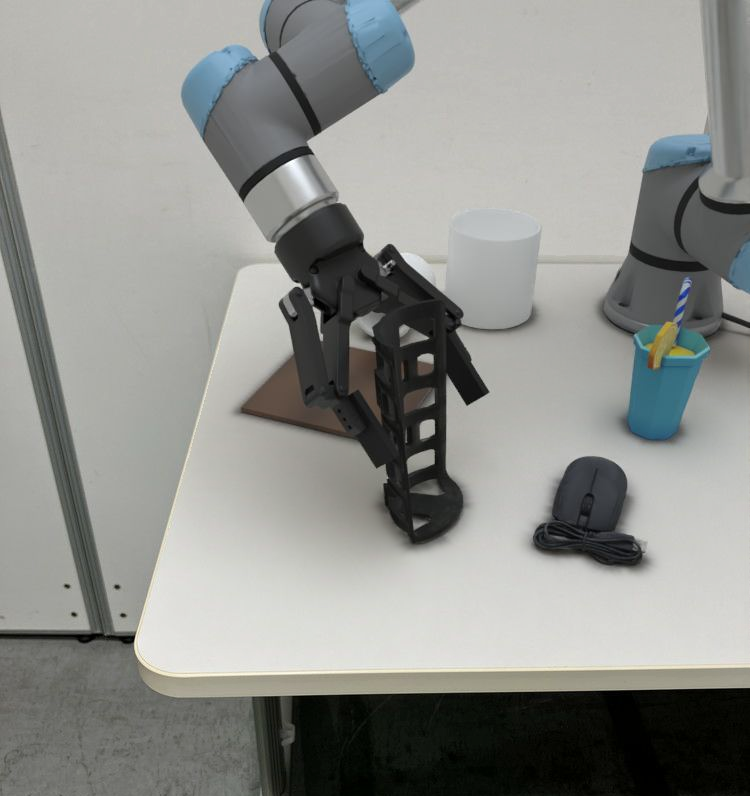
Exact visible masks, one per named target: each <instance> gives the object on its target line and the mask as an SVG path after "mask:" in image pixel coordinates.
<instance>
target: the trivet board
mask: <svg viewBox="0 0 750 796" xmlns="http://www.w3.org/2000/svg"><path fill="white" fill-rule="evenodd" d="M320 341H321V346H322V351H323V340H320ZM376 368H377V364H376V351H372V350H368V349H362V348H358V347H352V346H349V393H348V395H350V394H351V393H353V392H354V391H356V390H358V389H359V391H360V392H361V394H362V396H363V397H364V399H365V400H366V402H367V403H368V405H369V407H370V408H371V410H372V411H373V413H374V415H375V416H376V418H377V419H378V421H379V422H380V424H381V426H382V419H381V410H380V408H379V406H378V405H377V400H376V389H375V378H374V369H376ZM433 369H434V363H430V362H425V361H420V360H418V375H419V376H420V375H425V374H429V373H431V372H432V371H433ZM401 374H402V380H403V379H404V365H403V362H402V364H401ZM432 389H433V388H431V387H429V388H424V389H419V390H415V391H413V392H410V393H407V394H406V395H405V397H404V414H405V413H408V412H410V411H413V410H416V409H419V408H420V407H421V405H422V403H423V402H424V401H425V399H426V398H427V396H428V395H429V393H430V392H431V391H432ZM240 412H241V413H245V414H248V415H249V414H250V415H253V416H258V417H261V418H262V417H263V418H266V419H270V420H275V421H280V422H283V423H287V424H292V425H295V426H296V425H297V426H300V427H304V428H309V429H313V430H317V431H321V432H326V433H329V434H334V435H338V436H342V437H345V438H346V437H347V438H351V439H355V440H358V439H357V438H356V436H354V437H351V436H350V435H348V434H347V432H346V431H345V429H344V427H343V426H342V424H341V423H340V421H339V420H338V418H337V416H336V415H335V413H334V412H333V410H332V409H331V408H330V407H329V408H328V409H321V408H320V407H319V406H315V407H313V408H308V407H307V406H305V404H304V402H303V398H302V392H301V387H300V382H299V377H298V372H297V367H296V361H295V356H294V354H292V355H291V356H290V357H289V358H288V359H287V360H286V361H285V362H284V363H283V365H281V366H280V367H279V368H278V369H277V371H275V373H273V374H272V375H271V376H270V377H269V378H268V379H267V380H266V381H265V382H264V383H263V384H262V385H261V386H260V387H259V388H258V389H257V391H255V392H254V393H253V394H252V395H251V396H250V397H249V398H248V399H247V400H246V401H245V403H243V405H242V406H241V407H240Z"/></svg>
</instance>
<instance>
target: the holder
mask: <svg viewBox="0 0 750 796" xmlns="http://www.w3.org/2000/svg"><path fill="white" fill-rule="evenodd" d="M425 318H426V319H431V320H432V321H433V335H432V337H431V338H427V339H423V340H418V341H414V342H410V343H407V344H404V345H401V337H400V334H399V327H401V326H402V325H403V324H405V323H407V322H411V321H415V320H418V319H425ZM372 329H373V333H374V337H372V336H371V337H370V339H371V342H372V344H373V345H374V350H375V351H374V352H376V364H377V368H376V369H374V378H375V389H376V400H377V405H378V406H379V408H380V410H381V419H382V427H383V429H384V430H385V432H386V434H387V435H388V437H389V438H390V440H391V441H392V443H393V445H394V446H395V448H396V449H397V451H398V453H399V454H400V455H399V456H398V457H397V458H395V459H393V460H392V461H390V462H388V463H386V464H384V465H385V466H384V467H385V474H386V476H387V478H386V482H383V483H382V487H383V501H384V507H386V508H387V510H388V512H389V515H390V518H391V520H392V522H393V523H394V524H395V525H396V526H397V527H398V528H399V529H400V530H401V531H403V532H404V533H405V534H406V536H407V537H408V538H409V540H410V542H411V543H412V544H413V545H415V544H416V545H417V544H424V543H426V542H428V541H431V540H433V539H434V538H436V537H438V536H440V535H441V534H443V533H444V532H446V531H447V530H449V529H450V528H451V527H452V526H453V525H454V524H455V523H456V522H457V521H458V520H459V518H460V516H461V514H462V512H463V509H464V495H463V492H462V489H461V488H460V486H459V485H458V483H457V482H456V481H455V480H453V479H452V478H451V477H450V475H449V474H448V471H447V424H448V423H447V421H448V420H447V419H448V418H447V417H448V416H447V373H446V308H445V302H444V301H443V300H437V299H432V300H425V301H420V302H415V303H411V304H407V305H404V306H401V307H398V308H396V309H393V310H392V311H390V312H389V313H388V314H386V315H385V316H383V317H382V318H381V319H380V321H379V322H378V323H377V324H375V325H374V326H373V327H372ZM423 355H432V356H433V357H432V358H433V359H432V360H433V364H434V369H433V371H432V372H431V373H429V374H425V375H420V376H419V375H418V361H419V360H418V358H419V357H420V356H423ZM402 362H403V365H404V379H403V380H402V374H401V364H402ZM429 387H431V388H432V389H433V391H434V392H433V393H434V403H430V405H427V406H424V407H419V408H418V409H416V410H413V411H410V412H408V413H405V414H404V397H405V395H406V394H407V393H410V392H413V391H415V390H419V389H424V388H429ZM430 420H433V421H434V433H433V434H432V435H430V436H428V437H425V438H421V425H422V423H423V422H426V421H430ZM430 450H431V451H432V450H433V451H434V459H433V460H434V463H432V464H431V465H428V466H426V467H422V468H419V469H416V470H413V471H411V472H409V470H408V461H409V459H410V458H412V457H413V456H415V455H417V454H420V453H424V452H427V451H430ZM432 480H436V481H437V483H438V485H439V487H440V488H441V490H442V492H443V493H441V494H428V493H419V492H411V489H413V488H415V487H416V486H418V485H420V484H422V483H425V482H428V481H432ZM413 516H414V517H421V518H427V519H428V520H429V521H428V522H426V523H424V524H422V525H421V526H419V527H417V528H415V527H414V519H413ZM414 528H415V529H414Z"/></svg>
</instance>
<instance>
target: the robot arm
mask: <svg viewBox="0 0 750 796" xmlns="http://www.w3.org/2000/svg"><path fill="white" fill-rule="evenodd" d="M423 1H424V0H264V2H263V3H262V6H261V8H260V13H259V17H258V28H259V29H258V30H259V34H260V38H261V41H262V43H263V46H264V47H265V49H266V50H267V52H268V54H267V55H265V56H264V57H262V58H261V59H259V58H258V57H257V56H256V55H254V54H253V53H252V52H251V51H250V49H249V48H248V47H247V46H244V45H241V44H230V45H226V46H225V47H223V48H222V49H221V50H214V51H212V52H210V53H209V54H207V55H206V56H205V57H203V58H202V59H201V60H199V61H198V62H197V63H196V64H194V66H193V67H192V69H190V70H189V71H188V73H187V74H186V76H185V78H184V81H183V83H182V84H181V90H180V99H181V103H182V106H183V108H184V109H185V111H186V113H187V115H188V117H189V118H190V120H191V122H192V124H193V125H194V127H195V129H196V131H197V132H198V134H199V137H200V138H201V140H202V142H203V143H204V144H205V147H206V148H207V150H208V151H209V153H210V154H211V155H212V157H213V159H214V160H215V161H216V163H217V164H218V167H219V168H220V169H221V171H222V172H223V174H224V176H225V177H226V179H227V180H228V181H229V183H230V184H231V186H232V188H233V189H234V191H235V193H236V195H238V197H239V198H240V200H241V201H242V203H243V205H244V207H245V208H246V210H247V211H248V213H249V214H250V216H251V218H252V219H253V220H254V222H255V225H256V226H257V227H258V229H259V230H260V233H262V235H263V237H264V238H265V240H266V241H267V242H269V243H270V244H275V245H274V253H273V254H274V255H275V257H276V258H277V259H278V261H279V262H280V264H281V266H282V267H283V269H284V270H285V272H286V274H287V275H288V278H289V279H290V280H291V281H292V282H293V283H296V284H300V286H301V287H300V286H294V287H293V288H291V290H289V291H288V292H287V294H285V295H284V296H283V297H282V298H281V299H280V300H279V301H278V308H279V310H280V311H281V314H282V316H283V317H284V319H285V322H286V323H287V326H288V330H289V336H290V341H291V346H292V350H293V351H292V352H293V355H294V356H295V361H296V367H297V372H298V377H299V382H300V387H301V392H302V398H303V402H304V404H305V406H307V407H308V408H313V407H315V406H319V407H320V408H321V409H328V408H329V407H330V408H331V409H332V410H333V412H334V413H335V415H336V416H337V418H338V420H339V421H340V423H341V424H342V426H343V427H344V429H345V431H346V432H347V434H348V435H350V436H351V437H354V436H356V438H357V439H356V440H357V441H358V442H359V444H360V446H361V447H362V449H363V451H364V452H365V454H366V455H367V457H368V459H369V460H370V462H371V463H372V465H373V466H374V468H375V469H376V470H377V469H379V468H381V467H383V466H384V465H385V464H386V463H388V462H390V461H392V460H393V459H395V458H397V457H398V456H399V455H400V454H399V453H398V451H397V449H396V448H395V446H394V445H393V443H392V441H391V440H390V438H389V437H388V435H387V434H386V432H385V430H384V429H383V427H382V426H381V424H380V422H379V421H378V419H377V418H376V416H375V415H374V413H373V411H372V410H371V408H370V407H369V405H368V403H367V402H366V400H365V399H364V397H363V396H362V394H361V392H360V391H359V389H358V390H356V391H354V392H353V393H351V394H350V395H348V393H349V347H350V341H351V340H350V339H351V338H350V335H351V334H350V333H351V330H350V329H351V328H350V327H351V325H352V323H353V322H355V321H357V320H356V319H357V318H358V317H363V316H365V315H367V314H369V313H370V312H371V311H372V312H374V313H384V314H388V313H389V312H390V311H392V310H393V309H396V308H398V307H401V306H404V305H407V304H411V303H415V302H420V301H425V300H432V299H437V300H443V301H444V302H445V308H446V376H447V377H448V378H449V380H450V382H451V383H452V385H453V386H454V388H455V390H456V391H457V393H458V395H459V396H460V398H461V399H462V400H463V402H464V404H465V406H467V407H468V406H469V405H472V404H474V403H475V402H477V401H479V400H480V399H482V398H483V397H485V396H486V395H488V394H489V393H490V390H489V389H488V386H486V384H485V381H484V380H483V379H482V377H481V376H480V374H479V372H478V371H477V369H476V367H475V366H474V364H473V363H472V361H473V359H472V355H471V354H470V352H469V351H468V350H467V348H466V346H465V344H464V343H463V341H462V339H461V338H460V336H459V335H458V333H457V330H458V329H459V328H461V327H462V325H463V324H462V323H461V320H460V319H462V318H463V316H464V314H463V311H462V309H461V308H460V307H458V306H457V305H456V304H455V303H454V302H452V301H451V300H450V299H449V298H448V297H447V296H445V293H443V292H442V291H441V290H439V288H437V286H436V287H435V286H434V285H432V284H431V283H430V282H429V281H428V280H427V279H425V278H424V277H423V276H422V275H421V274H419V273H418V272H417V271H416V270H415V269H414V268H412V267H411V266H410V265H409V264H408V263H407V262H406V261H405V260H404V259H403V257H402V256H401V254H400V253H401V252H399V250H398V248H396V246H395V245H394V244H392V243H388V244H387V243H386V245H385V246H384V247H383V248H381V250H379V251H378V252H377V253H376V254H375V255H373V256H372V254H370V253H369V252H368V251H367V250H366V248H365V245H364V240H365V233H364V231H363V230H362V228H361V226H360V225H359V224H358V221H357V220H356V219H355V217H354V216H353V214H352V212H351V210H350V209H349V207H348V206H347V205H346V204H345V203H342V202H338V201H339V198H340V193H339V191H338V189H337V187H336V186H335V184H334V183H333V181H332V179H331V178H330V176H329V175H328V173H327V172H326V170H325V169H324V167H323V166H322V163H321V162H320V161H319V159H318V158H317V156H316V154H315V153H314V152H313V150H312V148H310V146H309V143H308V141H310V140H312V139H313V138H314V137H316V136H318V135H320V134H322V132H323V131H325V130H327V129H328V128H330V127H331V126H333V125H334V124H337V123H338V122H339V121H341V120H342V119H344V118H346V117H347V116H349V115H350V114H352V113H353V112H355V111H356V110H357V109H360V108H361V107H363V106H364V105H366V104H367V103H369V102H370V101H372V100H374V99H375V98H377V97H378V96H380V95H384V94H385V93H387V92H388V91H389V89H390V88H391V87H394V85H395V84H397V83H398V82H400V80H402V79H403V78H404V77H405V76H407V75H408V74H409V73H410V72H411V71H413V68H414V66H415V64H416V63H415V62H416V53H415V49H414V45H413V42H412V39H411V36H410V34H409V31H408V29H407V26H406V24H405V23H404V20H403V19H402V16H404V15H405V14H406V13H408V12H409V11H411V10H412V9H414V8H415V7H416V6H417V5H419V4H420V3H422V2H423ZM698 1H699V13H700V15H699V16H700V28H701V42H702V54H703V55H702V56H703V67H704V68H703V69H704V79H705V80H704V81H705V93H706V106H707V119H708V132H709V133H708V134H706V133H705V134H703V133H691V134H690V133H688V134H687V133H686V134H676V135H668V136H664V137H661V138H659V139H657V140H656V141H654V142H652V143H651V145H650V146H649V148H648V151H647V155H646V159H645V162H644V165H643V168H642V170H641V173H642V177H641V182H640V189H639V193H638V199H637V205H636V209H635V215H634V221H633V226H632V232H631V237H630V241H629V248H628V252H627V255H626V257H625V258H624V261H623V262H622V264H621V265H619V267H618V269H617V270H616V273H615V276H614V278H613V281H612V282H611V284H610V286H609V288H608V290H607V292H606V294H605V298H604V299H605V300H604V305H603V310H604V313H605V316H606V317H607V318H608V320H610V321H611V323H613V324H614V325H616V326H618V327H619V328H621V329H623V330H626V331H627V332H629V333H633V334H636V333H638V332H639V331H641V330H643V329H644V328H646V327H648V326H649V325H665V323H666V322H673V320H674V316H675V312H676V308H677V303H678V299H679V295H680V291H681V286H682V284H683V282H684V280H685V278H688V277H689V278H691V280H692V283H691V287H690V290H689V293H688V297H687V301H686V305H685V309H684V313H683V317H682V321H681V325H680V327H683V328H686V329H688V330H691V331H694V332H697V333H699V334H701V335H702V337H703V338H706V337H708V336H710V335H712V334H714V333H715V332H716V331H718V330H719V328H720V327H721V325H722V324H721V323H722V319H723V320H726V321H728V322H731V323H734V324H736V325H739V326H742V327H745V328H747V329H749V330H750V321H748V320H745V319H743V318H740V317H737V316H735V315H731V314H729V313H727V312H724V297H723V296H724V295H723V285H722V279H723V280H724V281H725V282H726V283H728V284H730V285H731V286H732V287H733V288H734V289H736V290H739V291H743V292H744V293H747V294H748V295H750V0H698ZM381 292H382V294H381ZM314 308H315V309H316V310H318V311H320V315H319V316H320V318H319V319H320V320H319V322H320V323H319V328H318V323H317V317H316V314H315V311H314ZM404 325H406V326H408V327H410V329H412V330H413V331H416V332H417V333H419V334H421V335H423V336H425V337H426V338H427V339H429V338H431V337H432V335H433V321H432V320H431V319H426V318H425V319H418V320H415V321H411V322H407V323H405V324H404ZM319 332H320V333H319ZM320 334H322V340H321V338H320V337H321V335H320ZM321 341H323V351H322V346H321Z"/></svg>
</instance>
